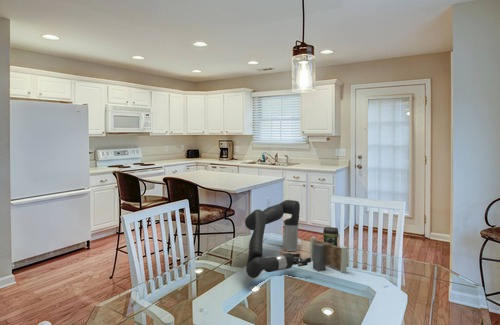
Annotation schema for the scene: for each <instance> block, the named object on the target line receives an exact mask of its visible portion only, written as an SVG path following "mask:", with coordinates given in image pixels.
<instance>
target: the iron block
mask: <svg viewBox="0 0 500 325" xmlns="http://www.w3.org/2000/svg"><path fill="white" fill-rule="evenodd" d="M326 268H327V265H326V245H325V244H322V243H316V244H314V247H313V261H312V269H313V270H315V271H318V272H322V271H326V270H327V269H326Z"/></svg>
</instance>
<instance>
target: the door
mask: <svg viewBox="0 0 500 325" xmlns="http://www.w3.org/2000/svg"><path fill="white" fill-rule="evenodd" d="M316 243H322V244H325V245H326V266H329V267H331V268H334V269H336V270H339V271H341V251H342V247H339V246H338V245H337V246H338V247H337V246H334V245H331V244H327V243H324V241H321V240H318V239H316V240H314V244H316Z"/></svg>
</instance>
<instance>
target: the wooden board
mask: <svg viewBox="0 0 500 325" xmlns="http://www.w3.org/2000/svg"><path fill="white" fill-rule="evenodd" d="M314 240H317V238H316V236H312V237H310V249H309V251H310V253H309V258H311V262H313V247H314ZM341 248H342V251H341V270H340V273H341V274H345V273H347V270H348V268H347V265H348V264H347V263H348V247H347V246H341Z"/></svg>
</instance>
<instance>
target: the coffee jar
mask: <svg viewBox="0 0 500 325" xmlns="http://www.w3.org/2000/svg"><path fill="white" fill-rule="evenodd" d="M322 232H323V233H322V234H323V242H324V243H327V244H331V245H334V246H337V247H339V246H338V237H339V229H338V227H332V226H324V228H323V231H322Z"/></svg>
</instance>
